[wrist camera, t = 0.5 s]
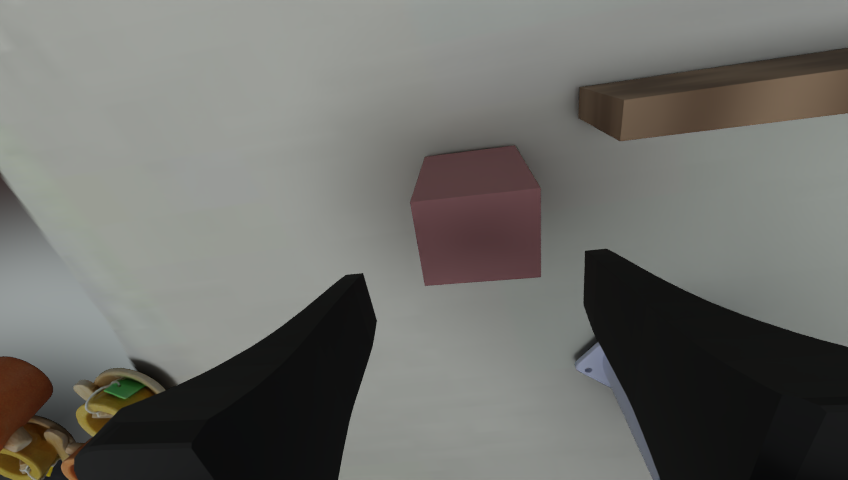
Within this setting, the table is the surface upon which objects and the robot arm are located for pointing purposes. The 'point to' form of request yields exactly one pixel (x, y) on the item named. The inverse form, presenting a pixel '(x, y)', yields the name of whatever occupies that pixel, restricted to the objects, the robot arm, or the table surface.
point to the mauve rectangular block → (477, 217)
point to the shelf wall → (720, 97)
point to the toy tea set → (44, 439)
